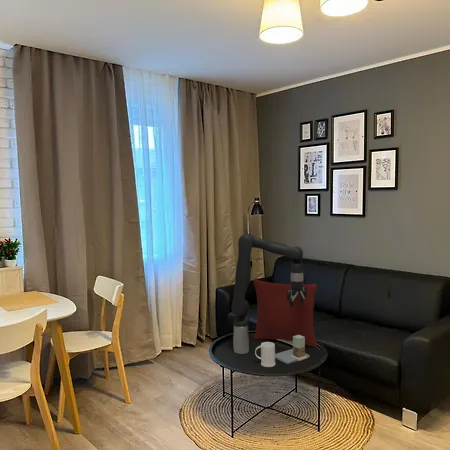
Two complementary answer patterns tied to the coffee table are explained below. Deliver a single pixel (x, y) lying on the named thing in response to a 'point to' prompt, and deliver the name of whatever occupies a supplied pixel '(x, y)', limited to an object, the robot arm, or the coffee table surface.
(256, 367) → the coffee table surface
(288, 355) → the mat
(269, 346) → the mug
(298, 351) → the walnut block
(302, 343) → the sage block
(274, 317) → the pillow
